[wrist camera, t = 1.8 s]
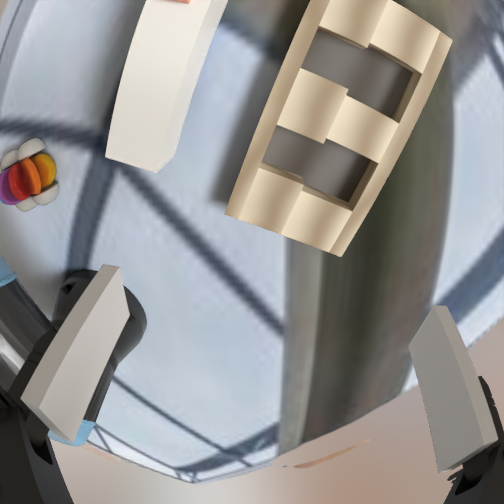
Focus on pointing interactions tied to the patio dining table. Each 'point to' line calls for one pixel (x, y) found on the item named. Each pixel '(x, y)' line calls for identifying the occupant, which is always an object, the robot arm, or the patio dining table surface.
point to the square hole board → (337, 119)
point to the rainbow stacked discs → (28, 177)
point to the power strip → (160, 79)
